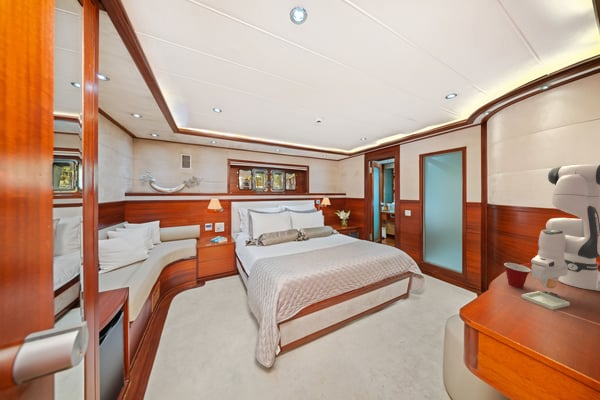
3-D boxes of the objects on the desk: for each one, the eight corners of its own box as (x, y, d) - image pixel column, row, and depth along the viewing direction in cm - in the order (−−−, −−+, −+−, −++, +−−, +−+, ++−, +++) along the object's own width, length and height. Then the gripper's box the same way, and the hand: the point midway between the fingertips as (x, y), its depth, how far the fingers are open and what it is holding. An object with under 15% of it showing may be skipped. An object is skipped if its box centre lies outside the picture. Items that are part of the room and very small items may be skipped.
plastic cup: (526, 292, 109) (527, 271, 109) (499, 284, 119) (500, 264, 118) (533, 288, 114) (534, 267, 113) (507, 280, 124) (508, 261, 123)
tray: (537, 294, 107) (538, 291, 107) (569, 306, 96) (570, 302, 96) (521, 298, 104) (521, 294, 104) (552, 310, 93) (552, 306, 93)
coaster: (545, 291, 110) (545, 289, 110) (565, 298, 103) (565, 296, 103) (537, 293, 108) (537, 291, 108) (556, 300, 101) (556, 298, 101)
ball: (545, 284, 110) (546, 276, 109) (559, 289, 105) (559, 280, 105) (539, 286, 109) (539, 277, 108) (552, 290, 104) (552, 281, 104)
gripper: (555, 255, 111) (554, 279, 112) (528, 260, 107) (527, 284, 108) (573, 259, 105) (571, 284, 106) (545, 264, 101) (543, 290, 102)
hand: (549, 284), depth 107 cm, fingers closed on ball, 5 cm apart
